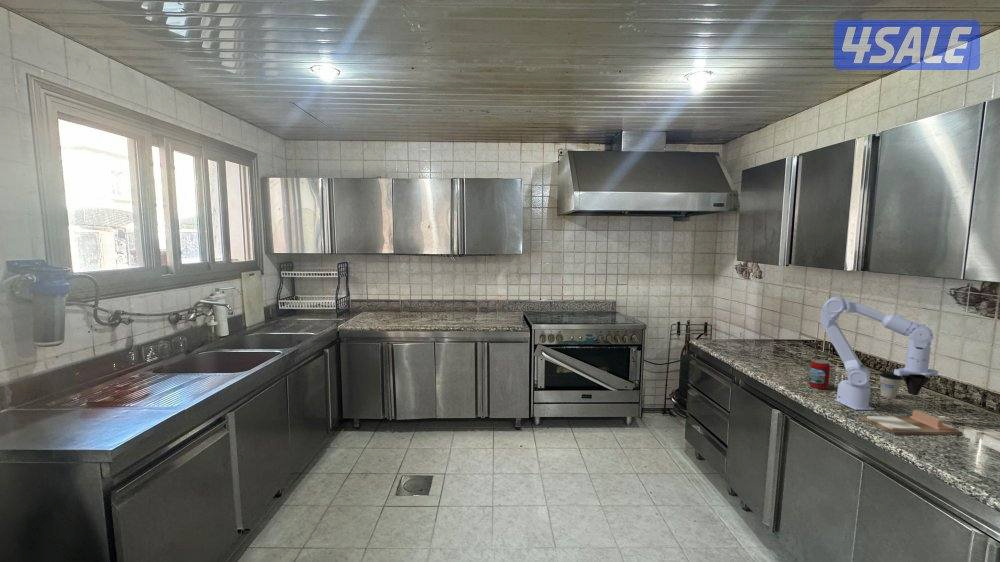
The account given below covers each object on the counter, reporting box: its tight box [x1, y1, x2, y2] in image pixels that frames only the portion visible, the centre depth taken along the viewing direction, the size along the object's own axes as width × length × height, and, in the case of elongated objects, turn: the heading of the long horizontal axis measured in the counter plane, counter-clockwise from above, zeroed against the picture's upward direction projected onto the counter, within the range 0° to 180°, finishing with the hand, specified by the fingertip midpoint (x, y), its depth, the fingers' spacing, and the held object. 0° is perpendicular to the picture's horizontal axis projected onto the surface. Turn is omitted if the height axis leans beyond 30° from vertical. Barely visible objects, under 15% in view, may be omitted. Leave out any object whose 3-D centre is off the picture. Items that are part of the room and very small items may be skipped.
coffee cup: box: [879, 371, 903, 399], centre depth 165 cm, size 7×7×10 cm
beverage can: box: [808, 359, 831, 390], centre depth 175 cm, size 7×7×12 cm
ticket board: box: [859, 415, 963, 436], centre depth 138 cm, size 12×24×2 cm, turn 92°
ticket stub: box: [909, 409, 956, 430], centre depth 138 cm, size 9×6×3 cm, turn 2°
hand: (912, 394), depth 144 cm, fingers closed
